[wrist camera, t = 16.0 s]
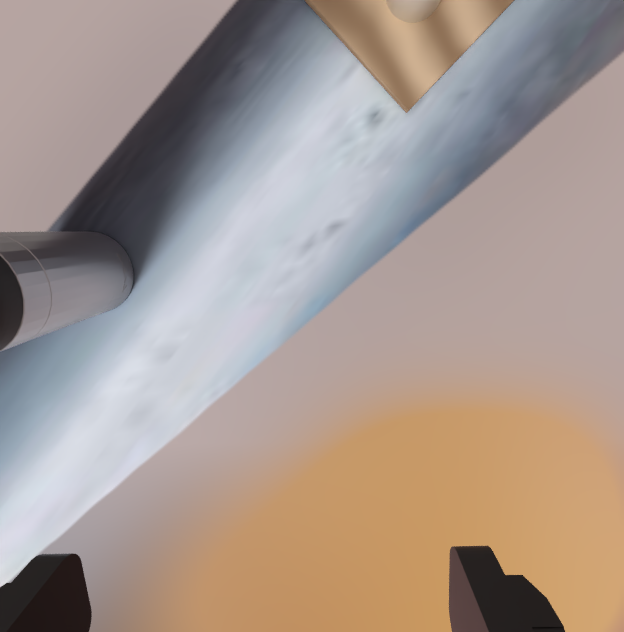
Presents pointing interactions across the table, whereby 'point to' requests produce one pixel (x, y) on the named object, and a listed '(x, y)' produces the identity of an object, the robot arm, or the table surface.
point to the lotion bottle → (412, 9)
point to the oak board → (408, 40)
